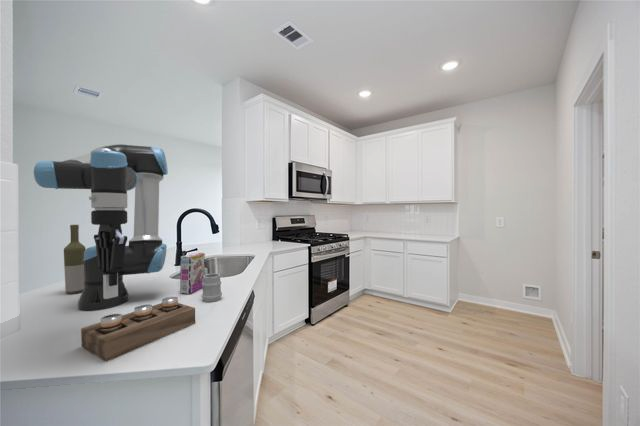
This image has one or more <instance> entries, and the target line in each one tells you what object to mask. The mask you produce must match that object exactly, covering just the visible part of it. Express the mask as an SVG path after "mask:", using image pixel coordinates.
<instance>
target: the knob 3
mask: <svg viewBox="0 0 640 426" xmlns="http://www.w3.org/2000/svg"><path fill="white" fill-rule="evenodd" d="M161 303H162V311H163V312H166V313H168V312H170V311H173V310H176V309H178V303H179V298H178V296H168V297H164V298H162V299H161Z"/></svg>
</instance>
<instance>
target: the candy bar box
mask: <svg viewBox="0 0 640 426" xmlns="http://www.w3.org/2000/svg"><path fill="white" fill-rule="evenodd" d="M205 257H206V256H205V253H203V252H194V253H189V254H186V255H181V256H180V271H179V272H180V283H179V289H180V290H179V294H180V295H191V294H193V293H195V292H197V291H199V290H201V289H202V281H203V280H202V279H203V273H204V268H206V267H205V261H206V260H205V259H206V258H205Z"/></svg>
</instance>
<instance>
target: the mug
mask: <svg viewBox="0 0 640 426" xmlns="http://www.w3.org/2000/svg"><path fill="white" fill-rule="evenodd" d="M202 280H203V281H202V288H201V289H202V294H201V299H202V301H203V302H205V303H213V302H217V301H219V300H221V299H222V295H223V293H222V289H221V284H222V281H221V274H220V273H209V272H208V268H207V267H204V273H203V279H202Z"/></svg>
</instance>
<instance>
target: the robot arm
mask: <svg viewBox="0 0 640 426" xmlns="http://www.w3.org/2000/svg"><path fill="white" fill-rule="evenodd" d="M165 175H168V163H167V159H166V155H165V151H164V149H163V148H161V147H157V146H155V147H154V146H147V145H146V146H143V145H134V144H133V145H132V144H131V145H130V144H120V143H119V144H113V145H111V144H110V145H106V146H101V147H96V148H94V149H92V150H91V151H89V153H87V154H84V155H80V156H77V157H73V158H69V159H67V160H66V159H65V160H63V161H56V160H40V161H37V163H35V165H34V168H33V177H34V180H35V182H36V184H37V185H38V186H40V187H41V188H45V189H46V188H47V189H55V190H58V189H61V190H68V189H69V190H90V193H91V194H90V195H89V197H88V199H89V201H90V202H91V204H90V205H91V206H90V207H91V208H92V209H94V210H92V211H90V216H91V217H90V222H91V224H92V225H96V226H98V232H97V234H94V235H93V239H94V242H95V243H94V244H95V245H94V246H89V247H87V248H86V250H85V251H84V260H83V261H84V288H83V291H82V292H81V294H80V297H79V298H78V301H77V308H78V310H81V311H96V310H98V311H99V310H104V309H108V308H113V307H115V306H116V307H117V306H120V305H122V304H124V303H126V302H128V300H129V292H128V290H127V287H126V286H125V283H124V276H127V275H128V276H129V275H141V274H142V275H144V274H151V273H158V272H160V271H161V270H162V269H163V268H164V266H165V261H166V257H167V244H166V243H163V239H162V238H161V237H160V236H159V223H160V222H159V218H160V217H159V216H160V215H159V213H160V211H159V210H160V208H159V207H160V206H159V205H160V182H161V181H163V180H164V176H165ZM133 189H134V209H133V210H134V213H133V214H134V217H133V237H132V238H131V239H129V241H128V236H127V235H123V230H122V225H125V224H127V223H128V211H127V210H125V209H127V208H128V191H131V190H133ZM127 242H128V245H126V244H127Z"/></svg>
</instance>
